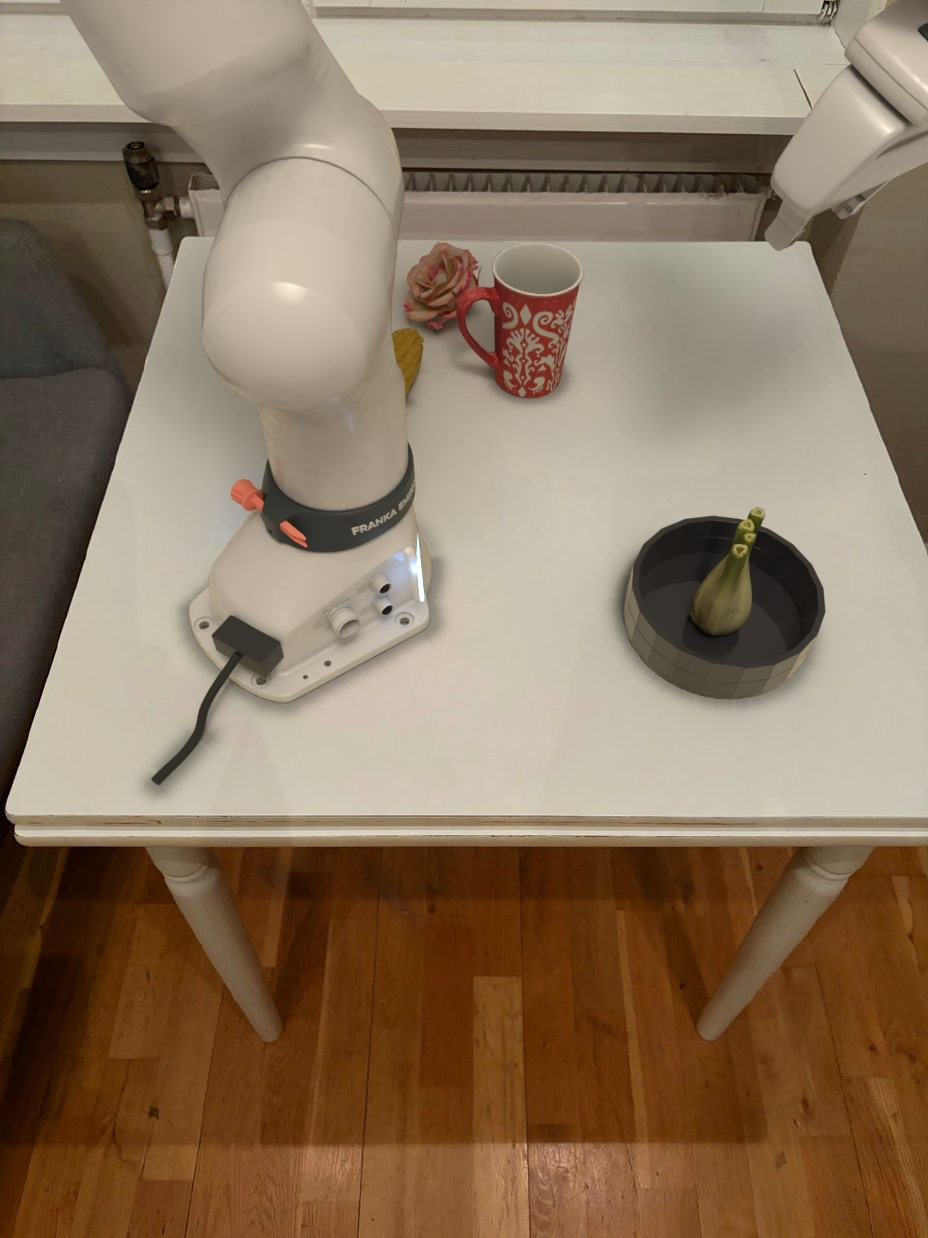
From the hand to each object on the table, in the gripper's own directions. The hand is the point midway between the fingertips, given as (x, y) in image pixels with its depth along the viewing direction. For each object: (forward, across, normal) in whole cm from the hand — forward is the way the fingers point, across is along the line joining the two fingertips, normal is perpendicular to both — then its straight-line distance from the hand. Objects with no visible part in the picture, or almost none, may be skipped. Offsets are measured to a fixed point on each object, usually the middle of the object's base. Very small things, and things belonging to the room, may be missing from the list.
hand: (808, 226), depth 68 cm
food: (+41, +9, -20) cm, 47 cm away
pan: (+27, +6, +18) cm, 33 cm away
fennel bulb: (+27, +6, +18) cm, 33 cm away
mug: (+37, -5, -16) cm, 41 cm away
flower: (+41, -7, -28) cm, 50 cm away
